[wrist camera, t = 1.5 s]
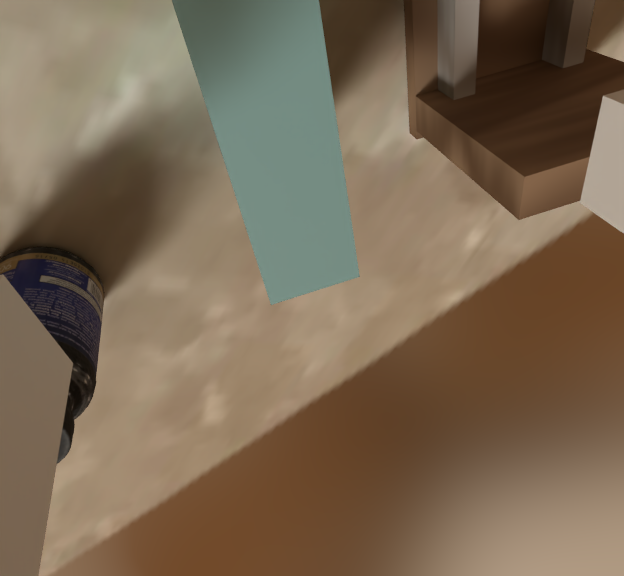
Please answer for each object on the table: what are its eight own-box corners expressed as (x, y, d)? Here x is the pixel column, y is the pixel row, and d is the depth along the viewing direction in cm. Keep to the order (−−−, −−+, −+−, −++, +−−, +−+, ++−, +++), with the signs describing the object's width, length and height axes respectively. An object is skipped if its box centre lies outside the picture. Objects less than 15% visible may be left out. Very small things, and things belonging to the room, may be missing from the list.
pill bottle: (0, 229, 26) (-69, 387, 17) (118, 261, 29) (107, 409, 20) (-21, 313, 28) (-89, 485, 20) (89, 334, 31) (69, 491, 23)
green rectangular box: (141, -104, 19) (137, -104, 10) (226, -125, 19) (298, -142, 10) (229, 168, 27) (270, 304, 18) (288, 150, 27) (359, 276, 18)
